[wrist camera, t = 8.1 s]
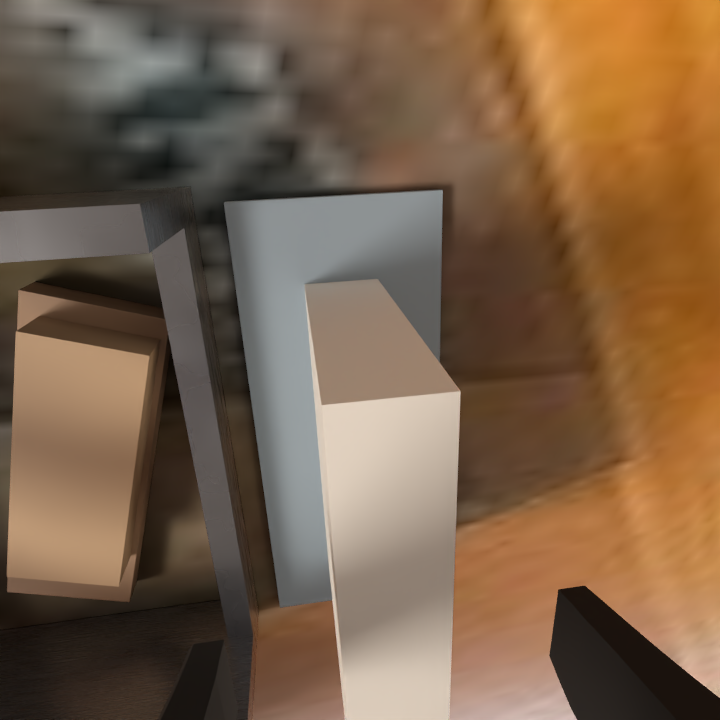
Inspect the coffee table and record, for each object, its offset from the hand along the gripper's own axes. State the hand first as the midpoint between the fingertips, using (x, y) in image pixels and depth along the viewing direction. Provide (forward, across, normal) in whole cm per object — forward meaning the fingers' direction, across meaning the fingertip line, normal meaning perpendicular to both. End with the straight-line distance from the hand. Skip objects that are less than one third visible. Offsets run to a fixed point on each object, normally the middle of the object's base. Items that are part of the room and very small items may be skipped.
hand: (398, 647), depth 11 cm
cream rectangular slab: (+9, 0, 0) cm, 9 cm away
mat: (+10, 0, 0) cm, 10 cm away
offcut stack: (+10, +10, 0) cm, 14 cm away
